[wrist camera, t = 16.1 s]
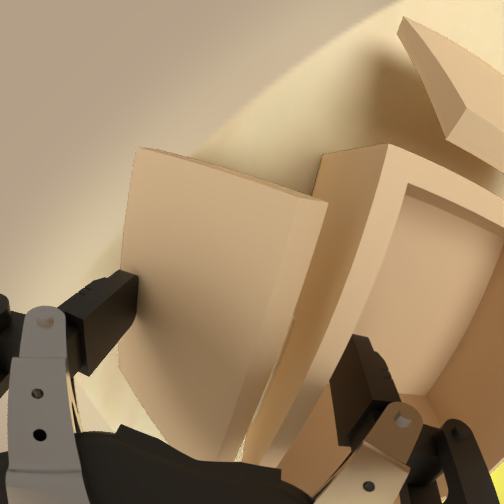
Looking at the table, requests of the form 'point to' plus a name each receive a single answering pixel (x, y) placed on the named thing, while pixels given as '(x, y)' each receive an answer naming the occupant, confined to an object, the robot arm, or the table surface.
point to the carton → (391, 309)
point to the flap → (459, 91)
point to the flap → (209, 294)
